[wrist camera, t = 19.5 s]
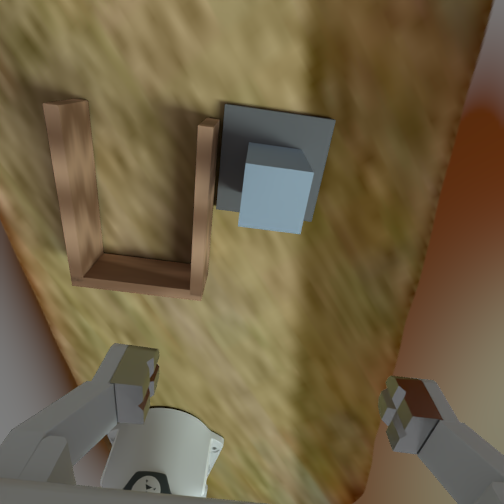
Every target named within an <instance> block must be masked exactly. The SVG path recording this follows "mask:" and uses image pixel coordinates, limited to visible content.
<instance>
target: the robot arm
mask: <svg viewBox="0 0 504 504" xmlns="http://www.w3.org/2000/svg"><path fill="white" fill-rule="evenodd" d="M158 359H159V349H155V348H148V347H141V346H134V345H125V344H118V343H114V344H113V345H112V346H111V347H110V349H109V351H108V353H107V355H106V356H105V358H104V360H103V362H102V363H101V365H100V367H99V369H98V371H97V372H96V374H95V376H94V378H93V379H92V381H86V382H85V383H83V384H81V385H80V386H78V387H77V388H75V389H74V390H72V391H71V392H69V393H68V394H66V395H65V396H63V397H61V398H60V399H58V400H57V401H55V402H54V403H52V404H51V405H49V406H48V407H46V408H45V409H43V410H41V411H40V412H38V413H37V414H35V415H34V416H32V417H31V418H29V419H28V420H26V421H24V422H23V423H21V424H20V425H18V426H17V427H16V428H14V429H12V430H11V431H10V433H9V434H8V436H7V437H6V438H5V440H4V441H3V443H2V444H1V445H0V504H266V503H255V502H245V501H235V500H225V499H214V498H206V494H207V488H208V485H207V484H206V479H207V477H208V475H209V473H210V471H211V469H212V467H213V465H214V463H215V461H216V459H217V457H218V455H219V453H220V451H221V449H222V447H223V444H224V439H223V438H222V437H221V436H219V435H217V434H216V433H214V432H212V431H210V430H209V429H208V428H207V427H206V426H205V425H204V424H203V423H202V422H201V421H200V420H199V419H197V418H196V417H194V416H192V415H190V414H188V413H185V412H182V411H179V410H175V409H169V408H150V397H151V396H153V395H154V393H155V390H156V387H157V382H158V378H159V365H158V364H157V362H158ZM386 385H387V389H385V390H383V391H382V392H381V394H380V396H379V402H378V408H379V413H380V416H381V419H382V420H383V422H385V423H386V424H387V425H388V428H387V431H386V433H387V436H388V439H389V442H390V444H391V447H392V450H393V451H396V452H404V453H411V454H418V457H419V458H420V459H421V460H422V462H423V463H424V464H425V465H426V466H427V467H428V469H429V470H430V471H431V472H432V473H433V475H434V476H435V477H436V478H437V479H438V481H439V482H440V483H441V484H442V485H443V486H444V488H445V489H446V490H447V491H448V492H449V494H450V495H451V496H452V497H453V498H454V500H455V501H456V502H457V503H458V504H504V455H502V454H501V453H500V452H499V451H498V450H496V449H495V448H494V447H493V446H492V445H490V444H489V443H488V442H487V441H485V440H484V439H483V438H482V437H481V436H479V435H478V434H477V433H476V432H474V431H473V430H472V429H471V428H470V427H468V426H467V425H466V424H465V423H460V422H459V420H458V419H457V417H456V415H455V414H454V412H453V410H452V408H451V407H450V405H449V403H448V402H447V400H446V398H445V396H444V395H443V393H442V391H441V390H440V388H439V386H438V385H437V383H436V382H435V381H433V380H425V379H417V378H407V377H398V376H390V377H389V378H388V379H387V381H386ZM149 408H150V409H149ZM117 423H118V424H117ZM106 434H107V435H108V438H109V440H110V442H111V444H112V448H111V451H110V454H109V457H108V460H107V463H106V466H105V469H104V472H103V475H102V478H101V482H100V485H101V486H102V487H92V486H82V485H76V481H75V477H74V472H73V466H74V465H75V464H76V463H77V462H78V461H79V460H80V459H81V458H82V457H83V456H84V455H85V454H86V453H87V452H89V450H91V449H92V447H94V446H95V445H96V444H97V443H98V442H99V441H100V440H101V439H102V438H103V437H104V436H105V435H106Z"/></svg>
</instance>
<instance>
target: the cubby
mask: <svg viewBox="0 0 504 504" xmlns="http://www.w3.org/2000/svg"><path fill="white" fill-rule="evenodd" d="M43 110H44V116H45V122H46V128H47V134H48V140H49V146H50V152H51V158H52V165H53V171H54V177H55V183H56V189H57V195H58V201H59V207H60V213H61V220H62V226H63V232H64V238H65V244H66V250H67V256H68V262H69V268H70V275H71V281H72V286H80V287H88V288H97V289H105V290H113V291H122V292H130V293H139V294H147V295H155V296H164V297H172V298H181V299H189V300H197V301H201V299H202V295H203V291H204V287H205V283H206V280H207V276H208V265H209V252H210V240H211V227H212V214H213V202H214V189H215V176H216V164H217V151H218V139H219V126H220V119H213V118H206V119H205V120H204V121H202V122H201V123H200V124H199V125H198V135H197V155H196V176H195V196H194V217H193V237H192V258H191V264H187V263H179V262H171V261H163V260H154V259H146V258H138V257H130V256H122V255H114V254H106V253H104V252H103V242H102V232H101V222H100V212H99V202H98V193H97V183H96V173H95V163H94V153H93V143H92V133H91V123H90V114H89V104H88V100H81V99H68V100H61V101H54V102H47V103H43Z"/></svg>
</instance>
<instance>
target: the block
mask: <svg viewBox="0 0 504 504" xmlns="http://www.w3.org/2000/svg"><path fill="white" fill-rule="evenodd" d="M313 175H314V171H313V170H312V168H311V166H310V164H309V162H308V160H307V158H306V157H305V155H304V153H303V151H302V150H301V149H294V148H287V147H280V146H273V145H265V144H258V143H251V142H249V145H248V152H247V158H246V165H245V173H244V181H243V189H242V198H241V206H240V214H239V222H238V226H241V227H248V228H256V229H264V230H272V231H279V232H287V233H295V234H300V233H301V228H302V224H303V220H304V215H305V211H306V206H307V202H308V197H309V193H310V189H311V184H312V180H313Z"/></svg>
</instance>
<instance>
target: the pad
mask: <svg viewBox="0 0 504 504" xmlns="http://www.w3.org/2000/svg"><path fill="white" fill-rule="evenodd" d="M335 121H336V120H334V119H327V118H321V117H314V116H307V115H300V114H293V113H286V112H280V111H273V110H266V109H259V108H252V107H245V106H239V105H232V104H225V111H224V123H223V135H222V147H221V159H220V171H219V182H218V194H217V206H216V209H219V210H227V211H234V212H240V206H241V198H242V189H243V181H244V173H245V165H246V158H247V152H248V145H249V142H251V143H258V144H265V145H273V146H280V147H287V148H294V149H301V150H302V151H303V153H304V155H305V157H306V158H307V160H308V162H309V164H310V166H311V168H312V170H313V171H314V175H313V180H312V184H311V189H310V193H309V197H308V202H307V206H306V211H305V215H304V220H303V221H310V222H311V221H312V217H313V213H314V209H315V204H316V200H317V196H318V192H319V188H320V184H321V179H322V175H323V171H324V167H325V163H326V159H327V154H328V150H329V146H330V142H331V138H332V134H333V129H334V125H335Z"/></svg>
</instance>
